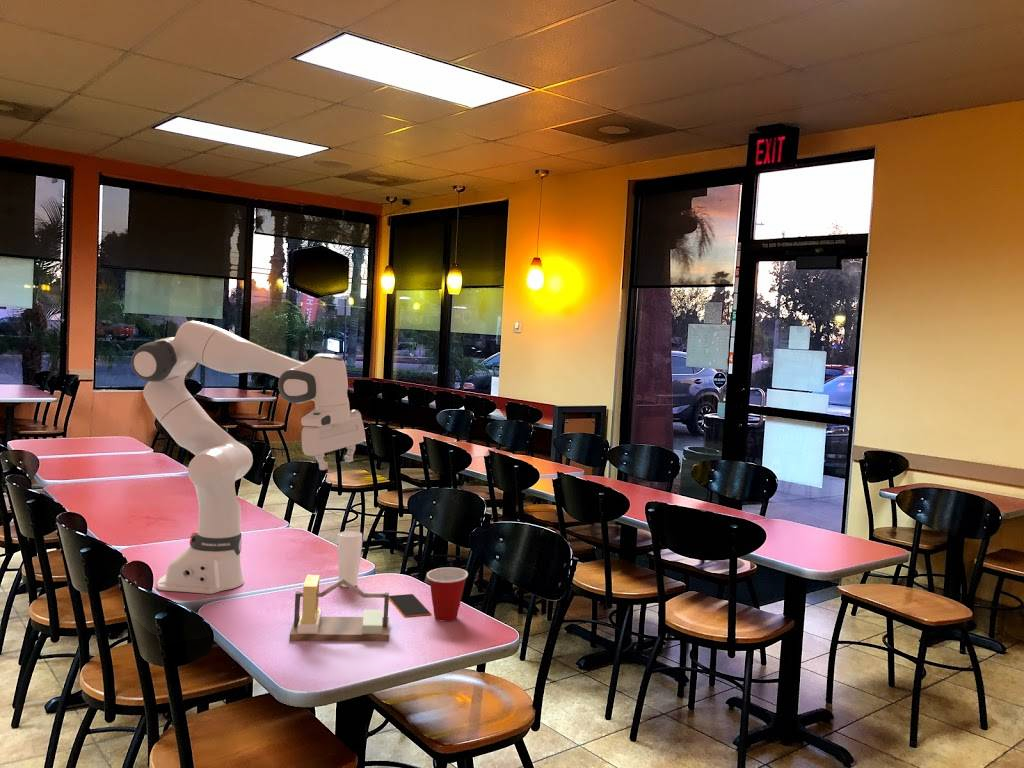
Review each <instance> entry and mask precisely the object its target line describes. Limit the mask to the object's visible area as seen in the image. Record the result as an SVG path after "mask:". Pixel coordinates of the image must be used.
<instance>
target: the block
mask: <svg viewBox="0 0 1024 768" xmlns="http://www.w3.org/2000/svg"><path fill="white" fill-rule="evenodd" d="M299 616H300V619H299V623H298V630H297V634H317V633H318V629H319V624H320V620H321V617H322V609H320V608H319V613H318V617H317V621H316V624H301V617H302V612H300V615H299Z"/></svg>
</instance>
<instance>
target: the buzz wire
mask: <svg viewBox="0 0 1024 768" xmlns="http://www.w3.org/2000/svg"><path fill="white" fill-rule="evenodd" d="M342 584H345V585H346V586H347V587H349V589H350V590H352V591H353V592H355V593H356V594H357V595H359V596H360V597H362V598H371V599H372V598H373V599H376V598H379V599H381V598H382V599H383V598H384V603H383V616H382V634H362V628H363V616H321V620H320V624H319V629H318V633H317V634H297V630H298V623H299V619H300V616H301V615H300V609H301V608H300V607H301V598H303V592H301V591H295V594H294V595H295V597H294V601H295V602H294V615H293V617H294V618H293V622H292V626H291V629H290V631H289V638H288V639H289V641H291V642H292V641H298V642H300V641H303V642H304V641H305V642H307V641H309V642H310V641H315V642H316V641H319V642H320V641H322V642H323V641H326V642H329V641H330V642H331V641H332V642H333V641H335V642H337V641H338V642H342V641H343V642H351V641H352V642H353V641H354V642H358V641H359V642H367V641H368V642H374V641H375V642H389V640H390V617H389V606H390V605H389V602H390V600H389V596H390V592H384V593H383V592H382V593H372V592H370V593H368V592H367V593H366V592H363V591H362V590H361V589H359V588H357V587H356V586H354V585H352V584H351V583H349V582H348V581H347V580H345V579H342V580H340V581H339V580H338V581H337V582H336V583H334V584H333V585H331V586H329V587H328V588H326V589H325V590H323V591H322V592H319V593H316V597H319V598H323V597H325V596H326V595H327V594H329V593H331V592H333V591H334V590H336V589H337V588H339V587H341V586H340V585H342Z"/></svg>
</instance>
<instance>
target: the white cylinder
mask: <svg viewBox="0 0 1024 768" xmlns="http://www.w3.org/2000/svg"><path fill="white" fill-rule="evenodd" d="M362 547H363V533H362V532H360V531H353V530H344V531H341V532H339V533H338V538H337V563H338V564H337V565H338V567H337V568H338V582H339V581H340V580H342V579H345V580H347V581H348V582H349V583H351V584H352V585H354V586H355V587H356V586H357V585H358V581H359V580H358V578H359V570H360V564H361V563H360V562H361V557H362V549H363V548H362ZM341 586H342V587H341ZM339 587H341V588H346V587H347V586H346V585H345V584H342V585H340V586H339Z"/></svg>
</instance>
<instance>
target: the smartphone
mask: <svg viewBox="0 0 1024 768" xmlns="http://www.w3.org/2000/svg"><path fill="white" fill-rule="evenodd" d="M389 602H391V604H392V605H393V606H394V607H395V609H397V611H398V610H399V611H398V612H399V613H400V614H401V615H402V616H403V617H404V618H416V617H426V616H427V617H428V616H429V617H430V616H431V615H432V613H431V612H430V611H429V609H428V608H427V607H426V606H425V605H424V604H423V603H422V602H421V601H420V599H418V598H417V596H416V595H414V594H413V593H409V594H396V595H389Z"/></svg>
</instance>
